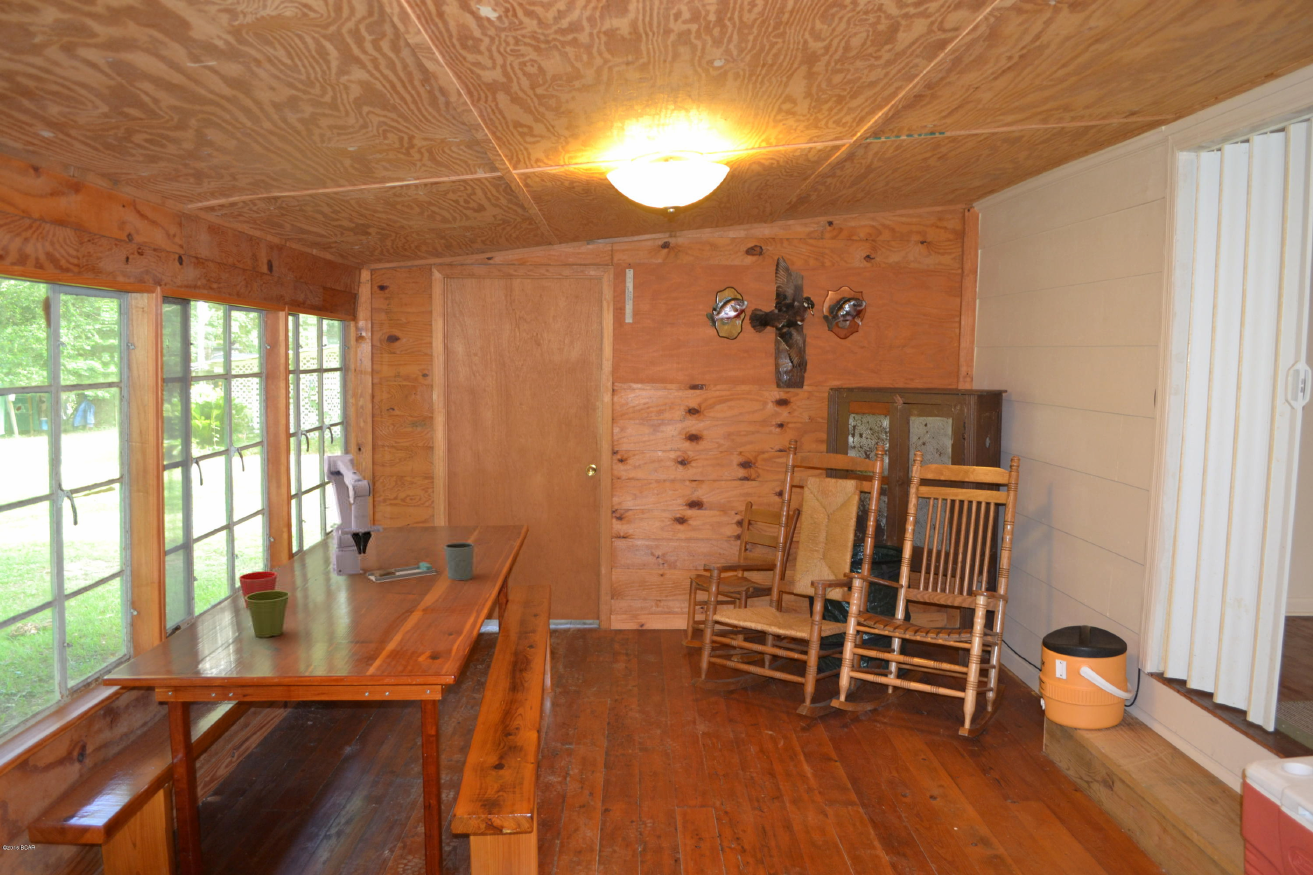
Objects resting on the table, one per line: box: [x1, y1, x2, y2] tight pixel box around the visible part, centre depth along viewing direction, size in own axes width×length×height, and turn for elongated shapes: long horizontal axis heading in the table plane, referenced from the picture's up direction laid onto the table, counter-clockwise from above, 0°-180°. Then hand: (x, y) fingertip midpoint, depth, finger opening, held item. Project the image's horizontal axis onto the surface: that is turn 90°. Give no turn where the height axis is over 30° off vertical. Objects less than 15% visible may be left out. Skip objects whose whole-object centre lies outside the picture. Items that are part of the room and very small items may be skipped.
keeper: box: [373, 568, 396, 578], centre depth 314 cm, size 6×5×2 cm
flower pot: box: [238, 570, 278, 609], centre depth 279 cm, size 11×11×10 cm
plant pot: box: [244, 589, 291, 638], centre depth 250 cm, size 12×12×11 cm
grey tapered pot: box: [444, 541, 475, 582], centre depth 314 cm, size 10×10×12 cm
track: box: [365, 561, 437, 583], centre depth 317 cm, size 22×12×3 cm, turn 126°
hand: (361, 553), depth 308 cm, fingers closed
